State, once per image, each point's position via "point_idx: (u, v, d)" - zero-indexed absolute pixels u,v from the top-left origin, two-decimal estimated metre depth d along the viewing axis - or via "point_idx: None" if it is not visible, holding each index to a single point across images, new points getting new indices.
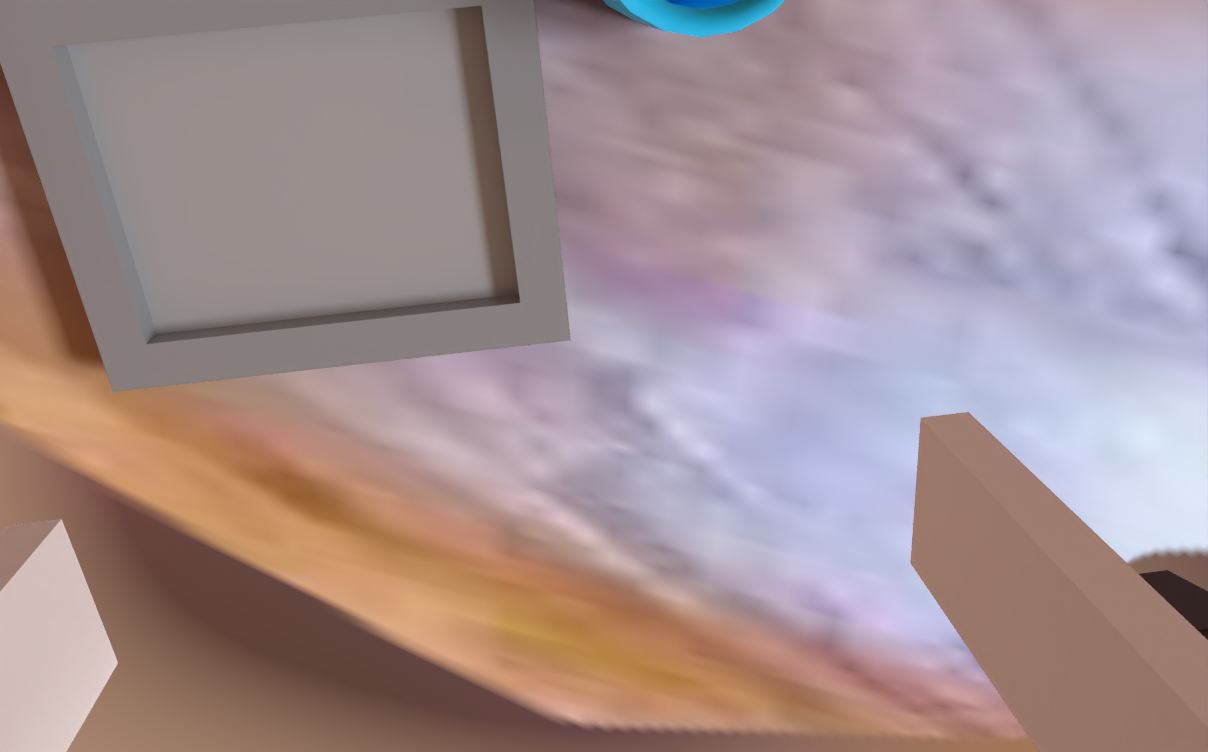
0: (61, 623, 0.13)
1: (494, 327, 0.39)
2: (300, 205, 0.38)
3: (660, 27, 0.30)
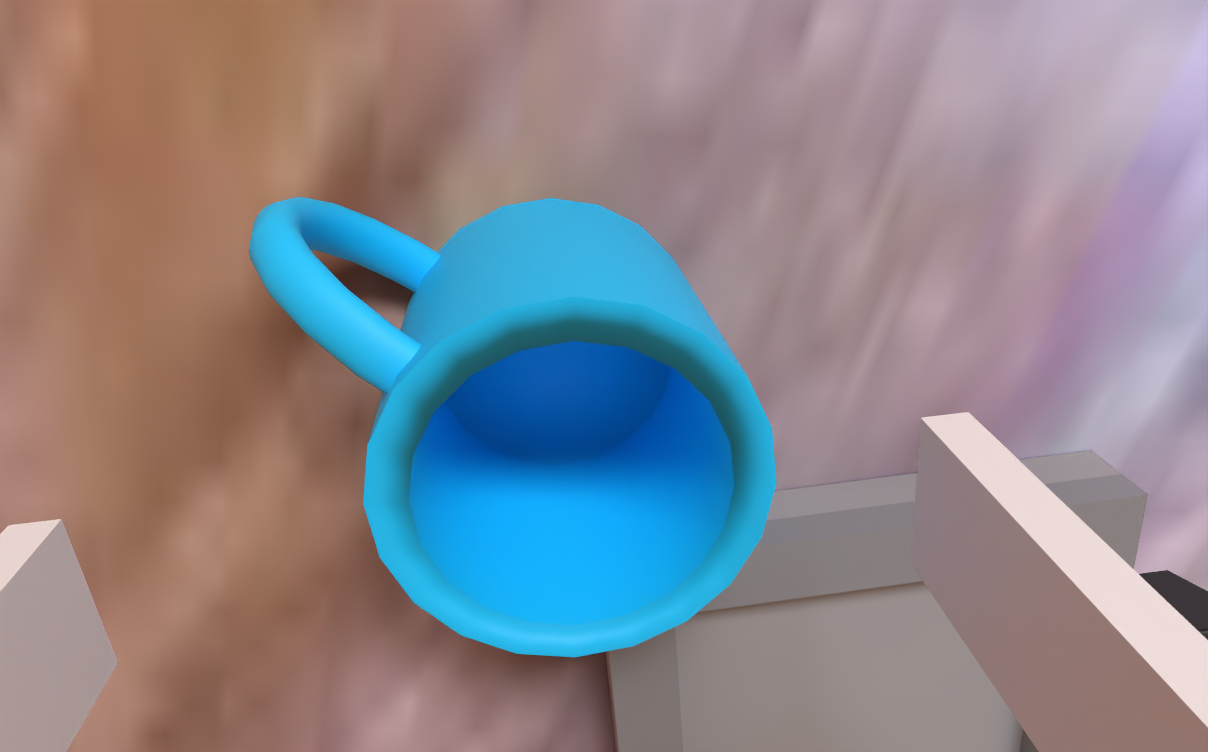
0: (61, 623, 0.13)
1: None
2: None
3: (756, 540, 0.19)
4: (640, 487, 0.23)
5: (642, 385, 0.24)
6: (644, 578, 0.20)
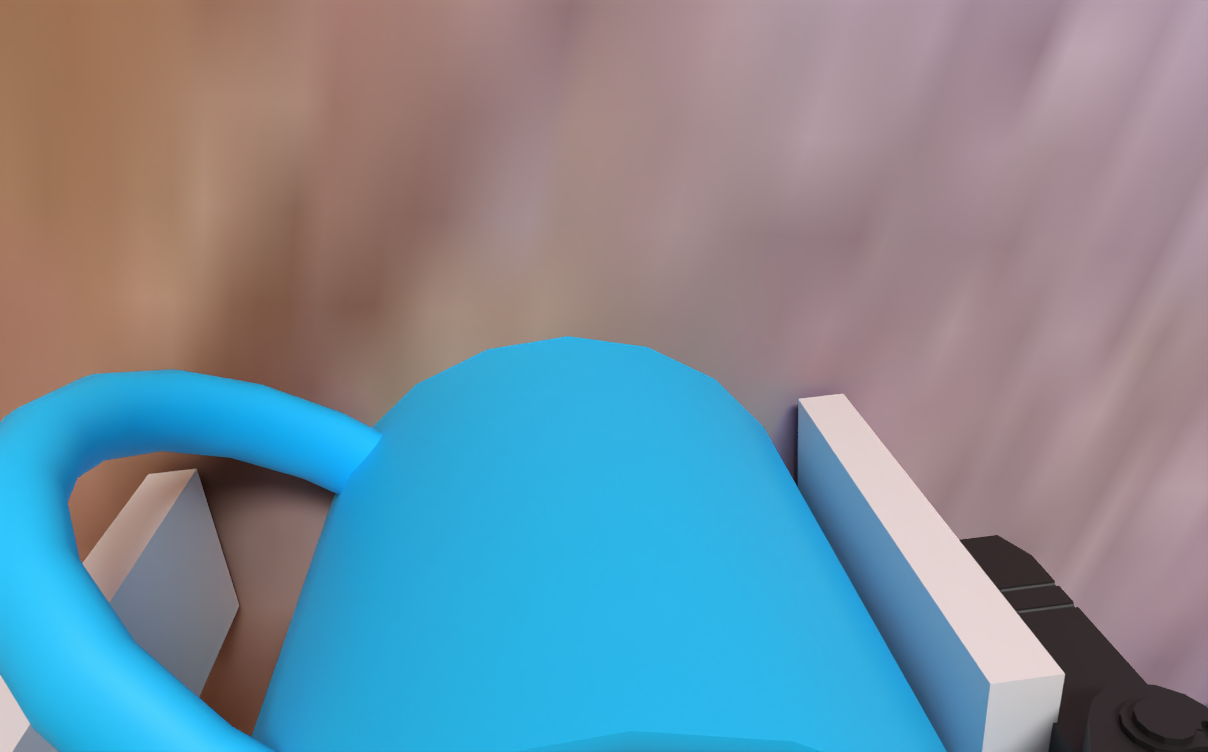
0: (199, 563, 0.14)
1: None
2: None
3: None
4: None
5: None
6: None
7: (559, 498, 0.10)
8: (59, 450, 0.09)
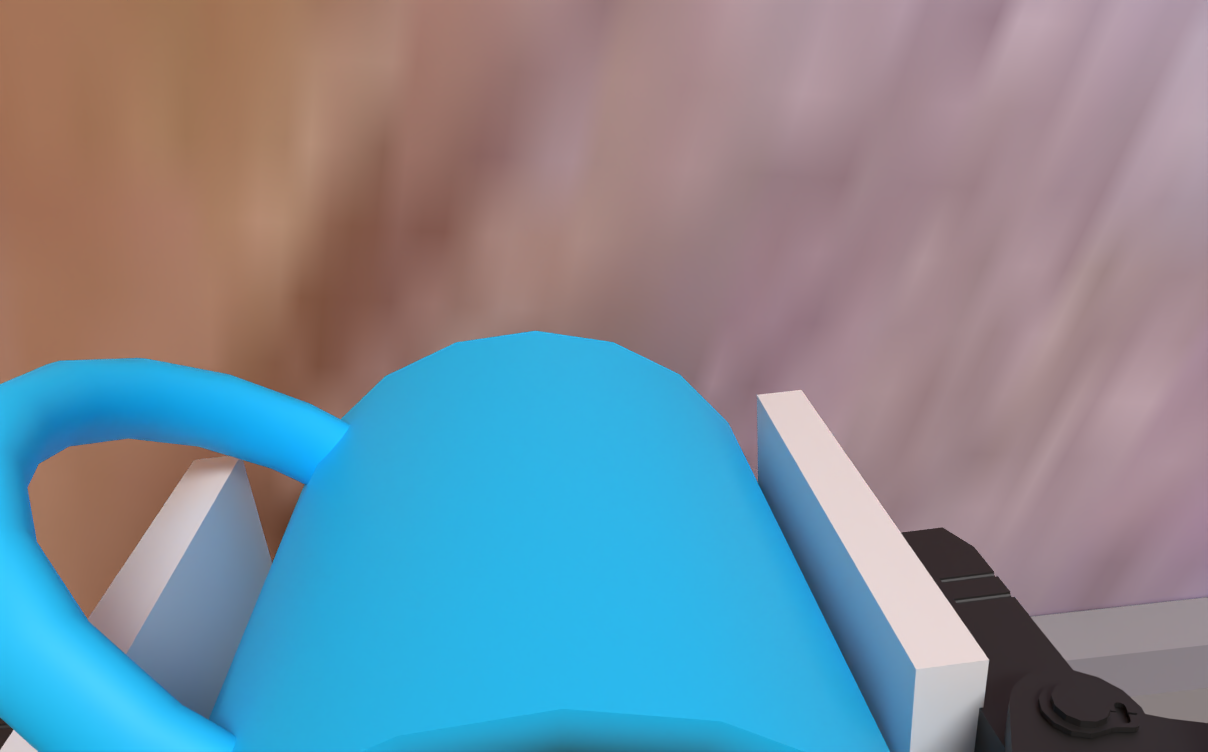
0: (244, 547, 0.14)
1: None
2: None
3: None
4: None
5: None
6: None
7: (513, 487, 0.10)
8: (20, 433, 0.09)
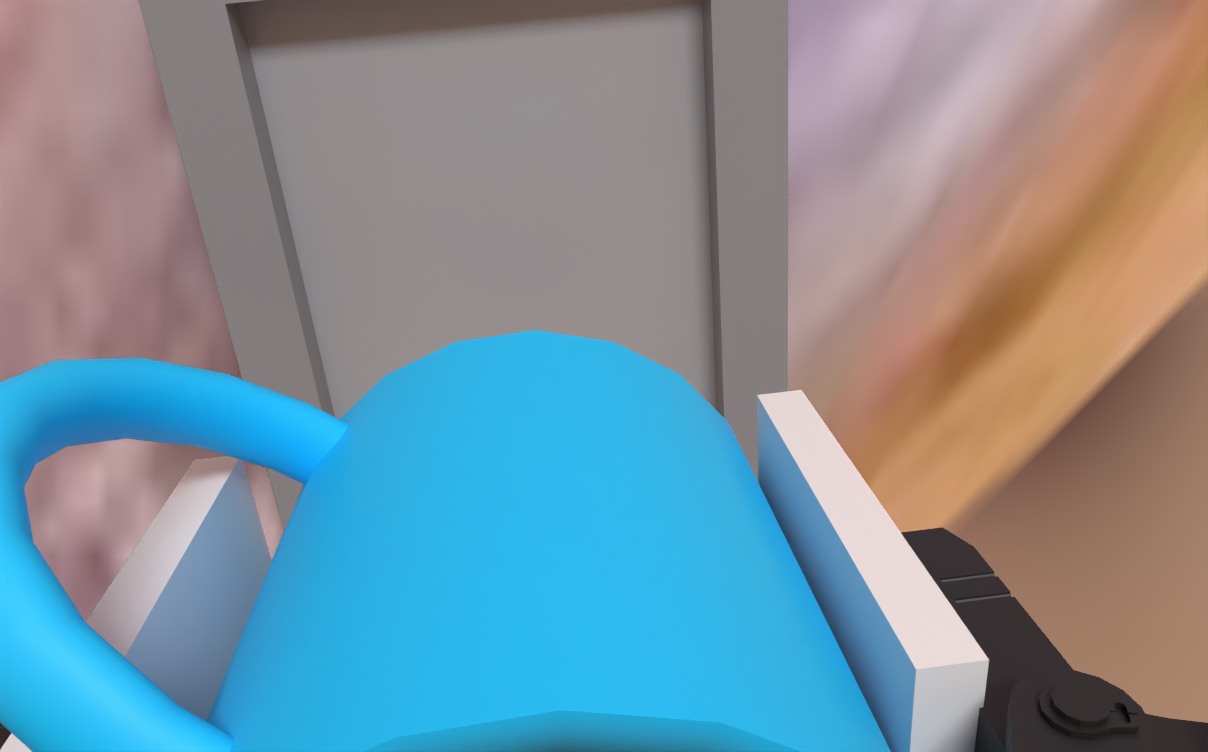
0: (244, 547, 0.14)
1: (750, 10, 0.23)
2: (549, 292, 0.27)
3: None
4: None
5: None
6: None
7: (512, 487, 0.10)
8: (16, 433, 0.09)
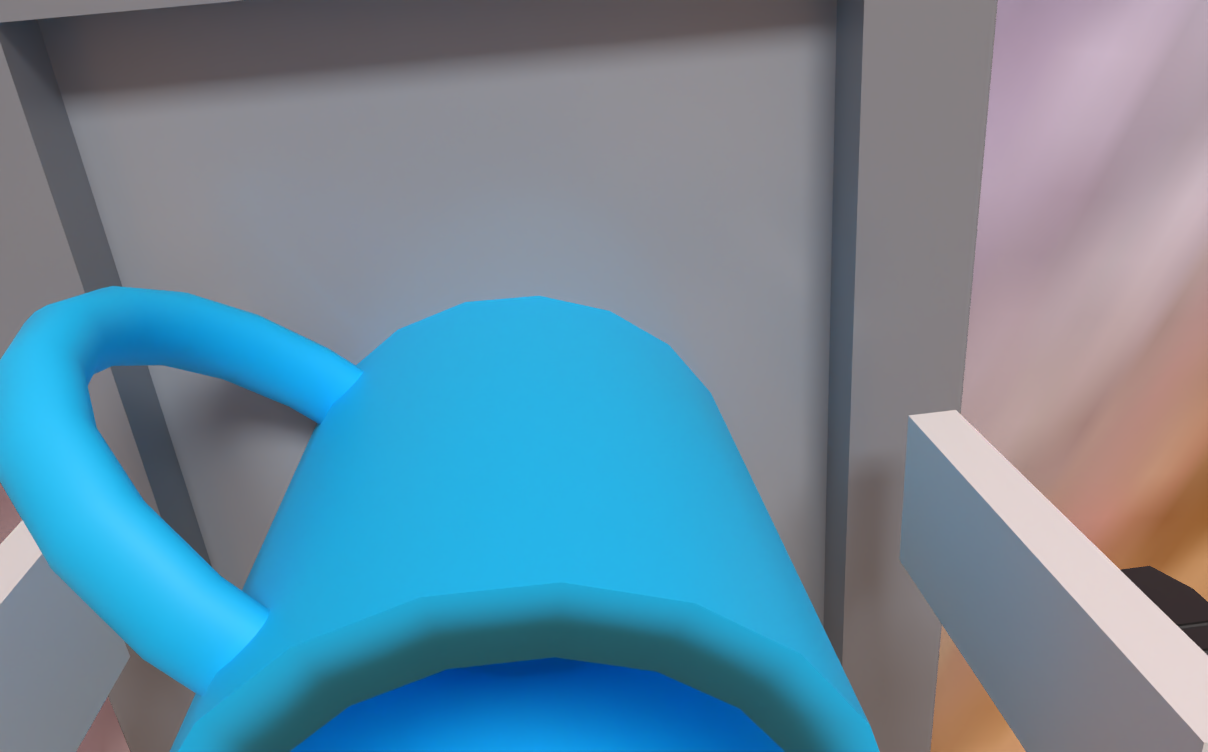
0: (75, 616, 0.13)
1: (930, 32, 0.13)
2: None
3: None
4: None
5: None
6: None
7: (518, 419, 0.11)
8: (83, 342, 0.10)
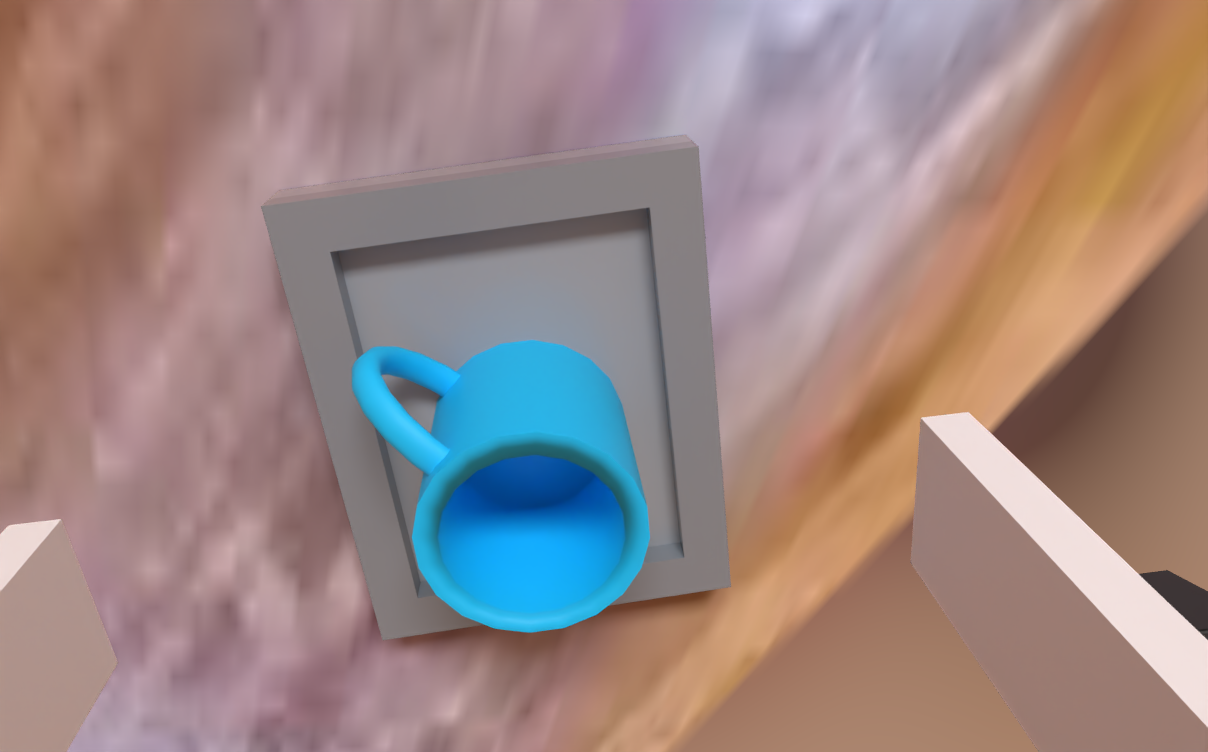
0: (61, 623, 0.13)
1: (679, 236, 0.34)
2: None
3: (638, 569, 0.32)
4: (578, 529, 0.36)
5: None
6: (573, 588, 0.33)
7: (524, 389, 0.32)
8: (379, 367, 0.32)
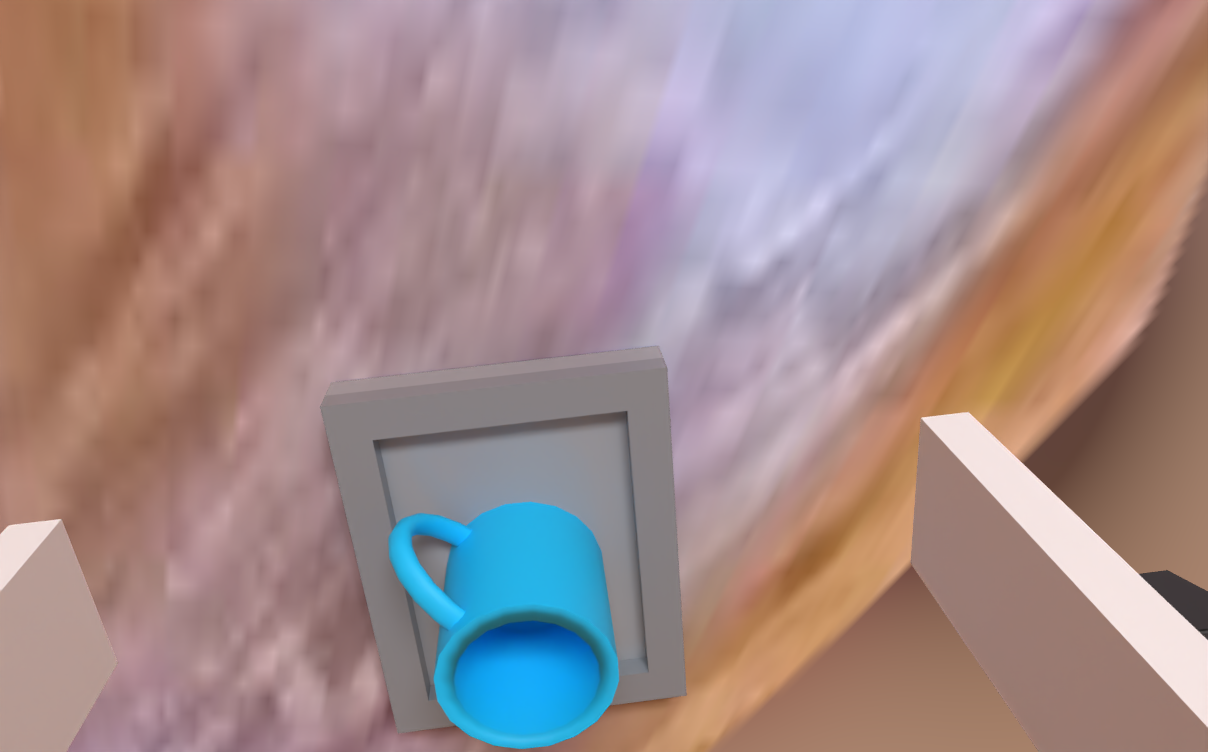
0: (61, 623, 0.13)
1: (650, 432, 0.43)
2: None
3: (609, 703, 0.40)
4: (563, 658, 0.45)
5: None
6: (557, 713, 0.42)
7: (524, 557, 0.41)
8: (410, 540, 0.40)
